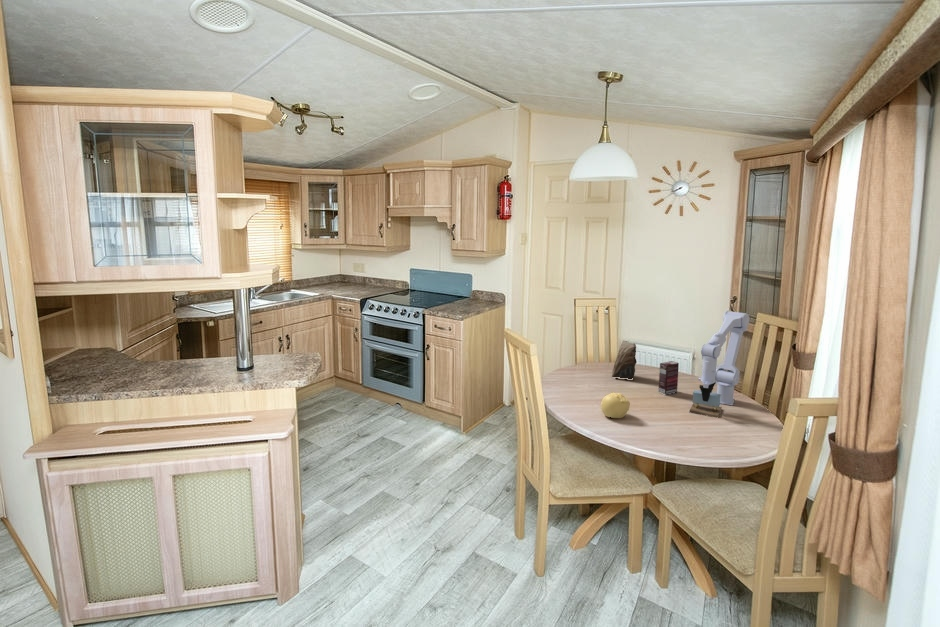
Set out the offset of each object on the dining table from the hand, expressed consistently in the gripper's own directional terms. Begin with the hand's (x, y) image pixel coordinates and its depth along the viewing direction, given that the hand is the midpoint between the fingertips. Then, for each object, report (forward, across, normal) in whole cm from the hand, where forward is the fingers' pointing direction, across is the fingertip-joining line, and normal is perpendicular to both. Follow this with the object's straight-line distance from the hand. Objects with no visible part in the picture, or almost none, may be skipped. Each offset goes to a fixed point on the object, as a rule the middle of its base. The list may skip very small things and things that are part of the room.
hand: (706, 398), depth 231 cm
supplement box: (+6, -16, -20) cm, 26 cm away
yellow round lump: (+6, +28, -34) cm, 44 cm away
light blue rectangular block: (+2, 0, 0) cm, 2 cm away
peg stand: (+6, 0, 0) cm, 6 cm away
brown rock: (+6, -29, -47) cm, 56 cm away
